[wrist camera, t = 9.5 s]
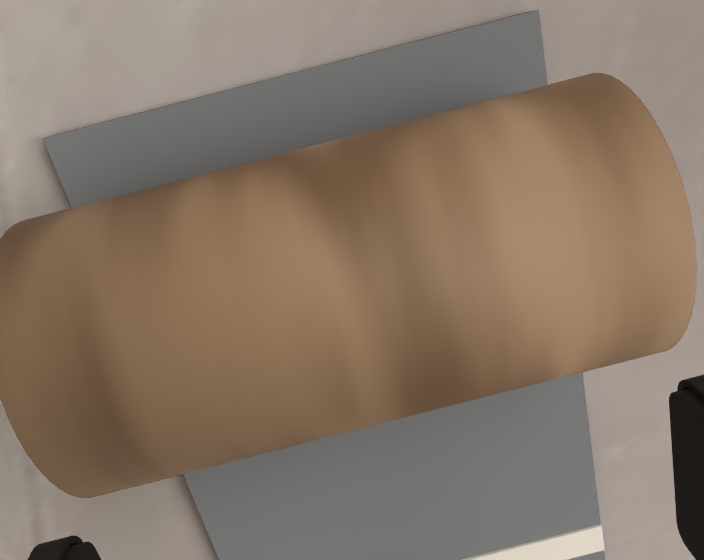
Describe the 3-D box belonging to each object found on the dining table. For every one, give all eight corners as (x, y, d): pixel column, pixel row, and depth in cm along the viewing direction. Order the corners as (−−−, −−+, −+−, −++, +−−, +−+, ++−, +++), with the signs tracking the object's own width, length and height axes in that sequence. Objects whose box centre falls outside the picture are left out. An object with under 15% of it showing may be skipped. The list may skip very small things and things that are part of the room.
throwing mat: (533, 10, 18) (539, 10, 17) (618, 699, 28) (623, 710, 28) (47, 137, 18) (41, 139, 17) (313, 776, 28) (313, 788, 28)
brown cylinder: (545, 66, 18) (689, 83, 11) (572, 289, 20) (702, 407, 14) (64, 191, 18) (-66, 278, 11) (150, 397, 21) (84, 565, 14)
